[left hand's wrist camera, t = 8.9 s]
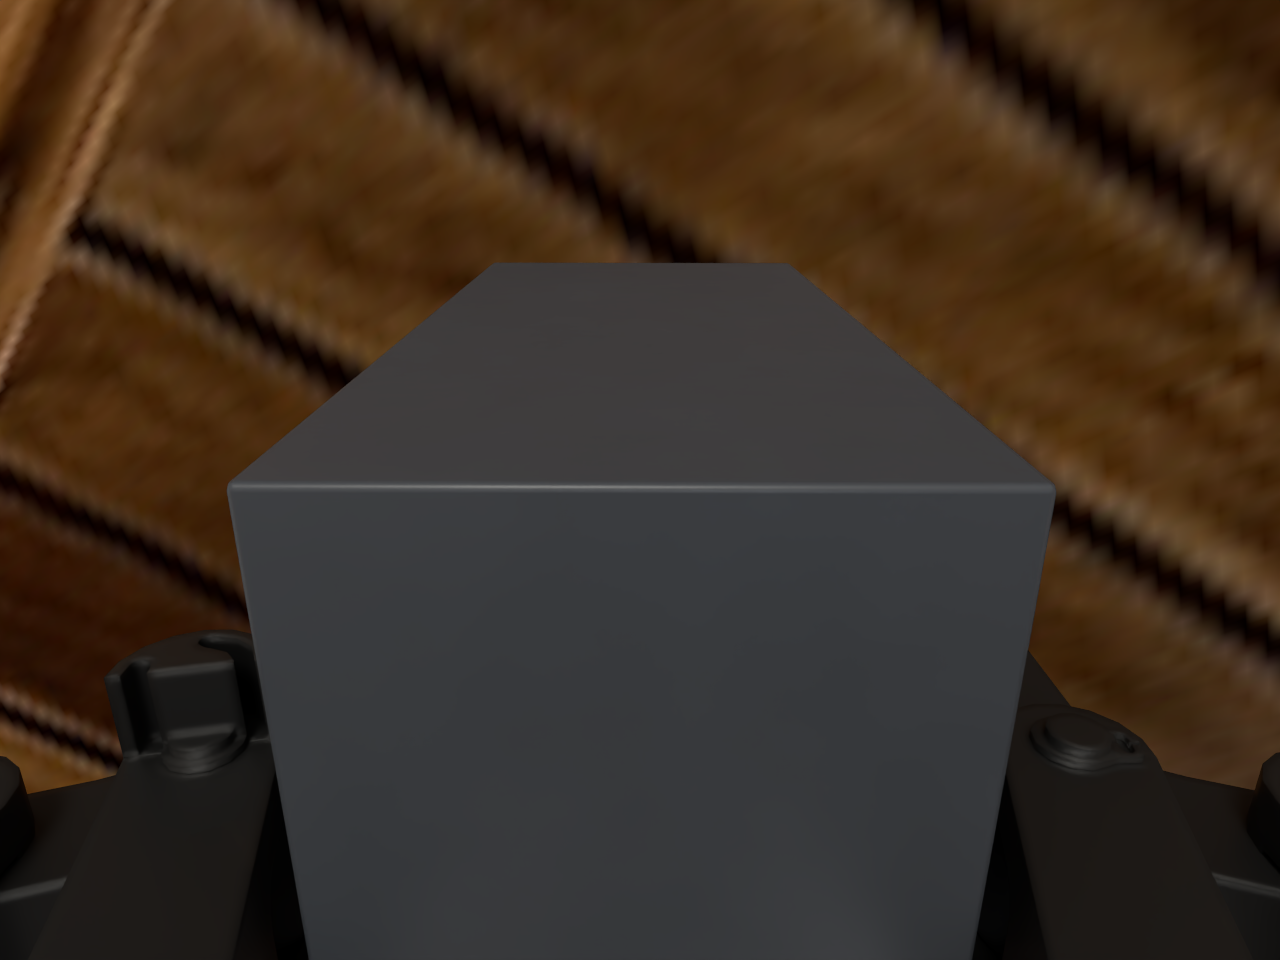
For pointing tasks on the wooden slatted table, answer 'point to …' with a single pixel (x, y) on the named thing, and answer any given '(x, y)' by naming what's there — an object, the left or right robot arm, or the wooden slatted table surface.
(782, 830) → the bar
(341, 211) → the wooden slatted table surface
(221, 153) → the wooden slatted table surface
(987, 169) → the wooden slatted table surface
